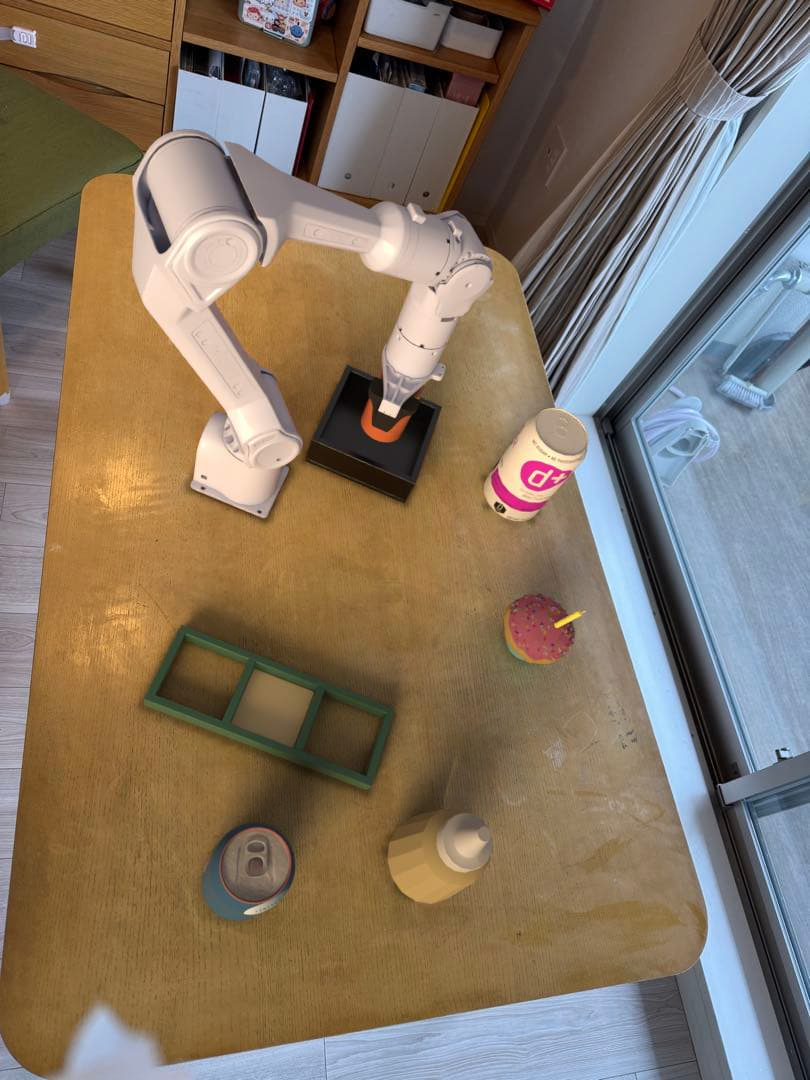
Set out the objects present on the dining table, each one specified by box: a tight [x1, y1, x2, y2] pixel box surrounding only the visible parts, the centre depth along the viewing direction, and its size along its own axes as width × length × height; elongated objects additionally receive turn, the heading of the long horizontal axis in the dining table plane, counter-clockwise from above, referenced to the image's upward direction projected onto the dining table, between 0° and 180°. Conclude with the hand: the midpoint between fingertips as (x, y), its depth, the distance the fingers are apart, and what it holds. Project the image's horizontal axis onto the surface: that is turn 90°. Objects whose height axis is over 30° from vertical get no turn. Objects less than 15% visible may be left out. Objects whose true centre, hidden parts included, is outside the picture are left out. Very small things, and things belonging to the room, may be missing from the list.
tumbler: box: [361, 367, 425, 442], centre depth 90 cm, size 5×5×8 cm
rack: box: [143, 624, 396, 791], centre depth 79 cm, size 8×24×2 cm, turn 73°
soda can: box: [200, 822, 296, 922], centre depth 67 cm, size 7×7×12 cm
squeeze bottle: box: [386, 806, 494, 905], centre depth 70 cm, size 8×8×18 cm
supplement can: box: [483, 407, 590, 522], centre depth 97 cm, size 8×8×15 cm
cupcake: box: [503, 593, 588, 665], centre depth 88 cm, size 9×8×12 cm
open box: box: [304, 363, 443, 504], centre depth 99 cm, size 14×14×5 cm
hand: (387, 409), depth 91 cm, fingers closed on tumbler, 5 cm apart
